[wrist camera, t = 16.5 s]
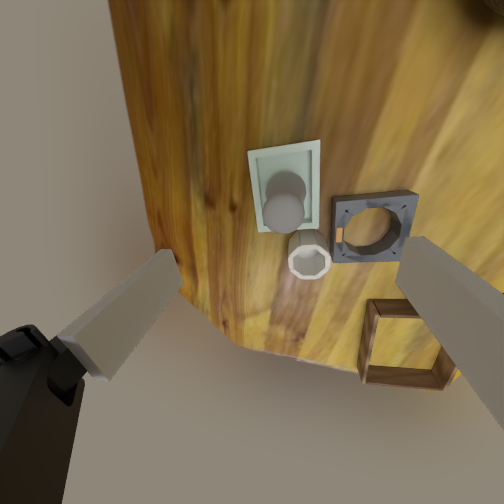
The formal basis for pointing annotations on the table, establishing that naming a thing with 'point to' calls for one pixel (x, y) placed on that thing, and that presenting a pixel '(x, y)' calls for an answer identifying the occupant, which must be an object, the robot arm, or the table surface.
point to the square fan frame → (393, 241)
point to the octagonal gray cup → (308, 254)
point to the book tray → (397, 376)
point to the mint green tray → (287, 160)
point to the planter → (496, 6)
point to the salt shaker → (284, 202)
